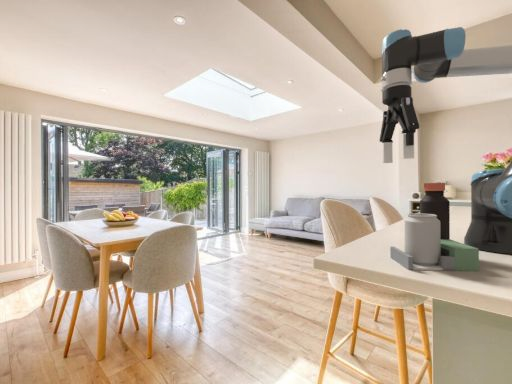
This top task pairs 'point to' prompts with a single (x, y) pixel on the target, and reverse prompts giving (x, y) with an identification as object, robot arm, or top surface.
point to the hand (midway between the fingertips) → (396, 161)
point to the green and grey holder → (443, 257)
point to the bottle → (437, 206)
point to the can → (423, 238)
